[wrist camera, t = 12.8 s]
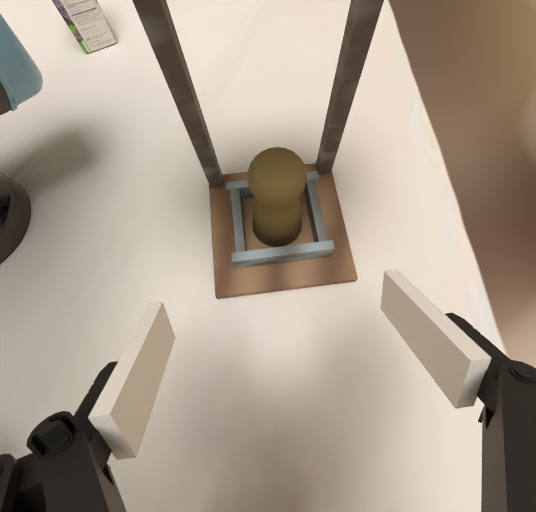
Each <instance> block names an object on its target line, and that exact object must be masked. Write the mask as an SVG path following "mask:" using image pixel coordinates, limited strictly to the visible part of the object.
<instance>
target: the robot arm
mask: <svg viewBox="0 0 536 512" xmlns="http://www.w3.org/2000/svg"><path fill="white" fill-rule="evenodd" d="M42 83H43V80H42V75H41V73H40V71H39V69H38V67H37V66H36V64H35V63H34V61H33V60H32V58H31V57H30V56H29V54H28V53H27V51H26V50H25V48H24V47H23V45H22V44H21V43H20V41H19V40H18V38H17V37H16V35H15V34H14V33H13V31H12V30H11V28H10V27H9V25H8V24H7V23H6V21H5V20H4V18H3V17H2V15H1V14H0V115H2V114H4V113H6V112H8V111H10V110H11V111H14V110H15V109H17V105H19V104H21V103H22V102H24V101H26V100H27V99H29V98H31V97H33V96H34V95H36V94H38V93H39V91H40V90H41V88H42ZM29 218H30V203H29V199H28V196H27V194H26V193H25V191H24V190H23V189H22V188H21V187H20V186H19V185H18V184H16V183H15V182H13V181H12V180H10V179H8V178H7V177H5V176H4V175H2V174H0V262H1V261H2V260H4V259H5V258H6V257H7V256H8V255H9V254H10V253H11V252H12V251H13V250H14V248H15V247H16V246H17V244H18V243H19V242H20V240H21V238H22V237H23V235H24V233H25V231H26V228H27V226H28V222H29ZM381 310H382V311H383V312H384V314H385V315H386V316H387V318H388V319H389V320H390V322H391V323H392V324H393V326H394V327H395V328H396V330H397V331H398V332H399V334H400V335H401V336H402V338H403V339H404V341H405V342H406V343H407V345H408V346H409V347H410V349H411V350H412V351H413V353H414V354H415V355H416V357H417V358H418V359H419V361H420V362H421V363H422V365H423V366H424V367H425V369H426V370H427V371H428V373H429V374H430V375H431V377H432V378H433V379H434V381H435V382H436V383H437V385H438V386H439V387H440V389H441V390H442V391H443V393H444V394H445V395H446V397H447V398H448V399H449V401H450V402H451V403H452V405H453V406H454V407H455V409H456V408H462V407H469V406H474V403H475V401H476V398H477V396H478V397H479V399H480V400H481V401H482V402H483V403H484V404H485V405H484V407H483V410H482V412H481V415H480V417H479V420H478V422H480V423H482V420H483V424H482V507H481V512H536V369H535V368H534V367H532V366H530V365H528V364H525V363H523V362H519V361H514V360H510V359H509V358H508V357H507V356H506V355H505V354H503V353H502V352H501V351H500V350H499V349H498V348H497V347H496V346H494V345H493V344H492V343H491V342H490V341H489V340H488V339H486V338H485V337H484V336H483V335H481V333H480V332H478V331H477V330H476V329H474V328H473V326H472V325H470V324H469V323H468V322H467V321H466V320H465V319H463V318H461V317H459V316H457V315H455V314H454V313H447V314H444V313H443V312H442V311H441V310H440V309H439V308H438V307H436V306H435V305H434V304H433V303H432V302H431V301H430V300H429V299H428V298H427V297H426V296H425V295H424V294H423V293H422V292H420V291H419V290H418V289H417V288H416V287H415V286H414V285H413V284H412V283H411V282H410V281H409V280H408V279H407V278H406V277H404V276H403V275H402V274H401V273H400V272H399V271H398V270H390V271H384V280H383V290H382V300H381ZM174 340H175V335H174V333H173V330H172V327H171V324H170V322H169V319H168V316H167V313H166V311H165V308H164V305H163V302H160V303H153V304H149V306H148V307H147V309H146V311H145V313H144V315H143V317H142V319H141V320H140V322H139V324H138V326H137V328H136V330H135V331H134V333H133V335H132V337H131V339H130V341H129V343H128V344H127V346H126V348H125V350H124V352H123V354H122V355H121V357H120V359H119V361H117V362H110V363H108V364H107V365H106V366H105V367H104V368H103V369H102V370H101V371H100V373H99V374H98V376H97V378H96V379H95V381H94V384H93V385H92V386H91V388H90V390H89V393H87V395H86V396H85V398H84V400H83V401H82V403H81V405H80V406H79V408H78V410H77V411H76V413H75V415H74V417H73V415H72V414H71V413H70V412H66V411H62V412H58V413H55V414H53V415H51V416H49V417H47V418H46V419H45V420H43V421H42V422H41V423H40V424H39V425H38V426H37V427H36V428H35V429H34V430H33V431H32V432H31V434H30V436H29V438H28V440H27V445H26V446H27V447H28V448H29V449H30V450H31V451H32V452H33V453H31V454H29V455H27V456H24V457H22V458H20V459H17V460H16V459H15V458H14V457H13V456H12V455H11V454H3V455H0V512H126V509H125V507H124V504H123V501H122V499H121V496H120V493H119V491H118V488H117V485H116V483H115V480H114V477H113V475H112V472H111V469H110V467H109V465H108V464H107V461H108V459H109V456H110V454H111V452H112V453H113V455H114V456H115V458H116V459H117V460H118V459H125V458H131V457H136V455H137V452H138V449H139V446H140V443H141V440H142V437H143V434H144V431H145V428H146V425H147V422H148V419H149V416H150V413H151V410H152V407H153V404H154V401H155V398H156V395H157V392H158V389H159V386H160V383H161V380H162V377H163V374H164V371H165V367H166V364H167V361H168V358H169V355H170V352H171V349H172V346H173V343H174Z"/></svg>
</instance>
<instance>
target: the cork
mask: <svg viewBox="0 0 536 512" xmlns="http://www.w3.org/2000/svg"><path fill="white" fill-rule="evenodd" d="M247 177H248V185H249V188H250V190H251V192H252V194H253V196H254V197H255V198H254V209H253V221H252V226H253V232H254V234H255V236H256V237H257V238H258V239H259V240H260V241H261V242H262V243H264V244H266V245H267V246H272V247H283V246H286V245H288V244H291V243H292V242H293V241H294V240H296V239H297V237H298V236H299V234H300V232H301V228H302V219H301V208H300V195H301V194H302V192H303V190H304V189H305V184H306V179H307V174H306V169H305V165H304V163H303V162H302V160H301V158H300V157H299V156H298V155H296V154H295V153H294V152H293V151H290V150H288V149H286V148H279V147H276V148H269V149H267V150H264V151H262V152H261V153H259V154H258V155H257V156H256V157H255V158H254V159H253V161H252V162H251V164H250V167H249V170H248V174H247Z"/></svg>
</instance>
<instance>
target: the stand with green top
mask: <svg viewBox="0 0 536 512" xmlns="http://www.w3.org/2000/svg"><path fill="white" fill-rule="evenodd" d="M383 1H384V0H351V3H350V8H349V13H348V17H347V22H346V27H345V31H344V36H343V41H342V46H341V50H340V55H339V60H338V64H337V69H336V74H335V78H334V83H333V88H332V92H331V97H330V102H329V106H328V111H327V116H326V120H325V125H324V130H323V134H322V139H321V144H320V148H319V153H318V158H317V162H316V163H314V164H306V165H305V169H306V174H307V179H306V184H305V189H304V190H303V192H302V194H301V195H300V208H301V219H302V228H301V232H300V234H299V236H298V237H297V239H296V240H294V241H293V242H292V243H291V244H288V245H286V246H283V247H272V246H267V245H266V244H264V243H262V242H261V241H260V240H259V239H258V238H257V237H256V236H255V234H254V232H253V226H252V221H253V209H254V198H255V197H254V196H253V194H252V192H251V190H250V188H249V185H248V177H247V174H248V172H242V173H234V174H226V175H222V173H221V170H220V167H219V164H218V161H217V158H216V155H215V151H214V148H213V145H212V142H211V139H210V136H209V133H208V130H207V127H206V123H205V120H204V117H203V114H202V111H201V108H200V105H199V102H198V99H197V95H196V92H195V89H194V86H193V83H192V80H191V77H190V74H189V71H188V67H187V64H186V61H185V58H184V55H183V52H182V49H181V46H180V43H179V39H178V36H177V33H176V30H175V27H174V24H173V21H172V18H171V15H170V11H169V8H168V5H167V2H166V0H133V3H134V5H135V8H136V10H137V12H138V15H139V17H140V20H141V22H142V24H143V27H144V29H145V32H146V34H147V36H148V39H149V41H150V44H151V46H152V48H153V51H154V53H155V55H156V58H157V60H158V63H159V65H160V67H161V70H162V72H163V75H164V77H165V79H166V82H167V84H168V87H169V89H170V91H171V94H172V96H173V99H174V101H175V103H176V106H177V108H178V110H179V113H180V115H181V118H182V120H183V122H184V125H185V127H186V130H187V132H188V134H189V137H190V139H191V142H192V144H193V146H194V149H195V151H196V154H197V156H198V158H199V161H200V163H201V166H202V168H203V170H204V173H205V175H206V177H207V180H208V182H209V190H210V208H211V225H212V243H213V260H214V278H215V295H216V298H218V299H220V298H228V297H235V296H243V295H251V294H259V293H267V292H274V291H282V290H290V289H298V288H306V287H313V286H321V285H329V284H337V283H345V282H352V281H356V280H357V279H358V278H357V274H356V270H355V266H354V262H353V257H352V253H351V249H350V245H349V241H348V237H347V233H346V229H345V224H344V220H343V216H342V212H341V208H340V204H339V200H338V196H337V191H336V187H335V183H334V179H333V175H332V171H331V170H332V167H333V163H334V160H335V157H336V154H337V150H338V147H339V144H340V141H341V137H342V134H343V131H344V128H345V124H346V121H347V118H348V115H349V112H350V108H351V105H352V102H353V99H354V95H355V92H356V89H357V86H358V82H359V79H360V76H361V73H362V69H363V66H364V63H365V60H366V56H367V53H368V50H369V47H370V43H371V40H372V37H373V34H374V30H375V27H376V24H377V21H378V17H379V14H380V11H381V8H382V4H383Z"/></svg>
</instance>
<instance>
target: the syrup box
mask: <svg viewBox="0 0 536 512" xmlns="http://www.w3.org/2000/svg"><path fill="white" fill-rule="evenodd" d="M52 1H53V3H54V4H55V6H56V8H57V9H58V11H59V12H60V14H61V15H62V17H63V19H64V20H65V22H66V23H67V25H68V26H69V28H70V30H71V31H72V33H73V34H74V36H75V37H76V39H77V41H78V42H79V44H80V45H81V47H82V49H83V50H84V52H85V53H87V54H88V53H91V52H94V51H96V50H99V49H102V48H105V47H107V46H110V45H112V44H115V43H117V41H116V39H115V36H114V34H113V32H112V30H111V28H110V26H109V24H108V22H107V20H106V18H105V16H104V14H103V12H102V10H101V8H100V6H99V4H98V2H97V0H52Z"/></svg>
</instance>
